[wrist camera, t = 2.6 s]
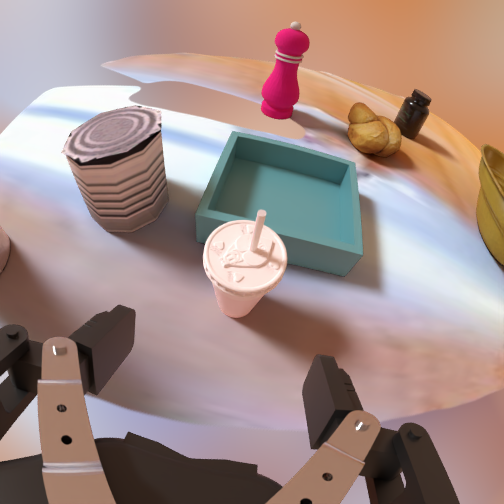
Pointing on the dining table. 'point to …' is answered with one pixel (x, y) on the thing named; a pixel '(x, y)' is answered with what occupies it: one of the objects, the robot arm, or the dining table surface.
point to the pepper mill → (285, 73)
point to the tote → (288, 200)
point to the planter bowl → (492, 201)
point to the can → (120, 167)
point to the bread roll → (372, 132)
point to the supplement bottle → (413, 114)
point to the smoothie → (243, 263)
